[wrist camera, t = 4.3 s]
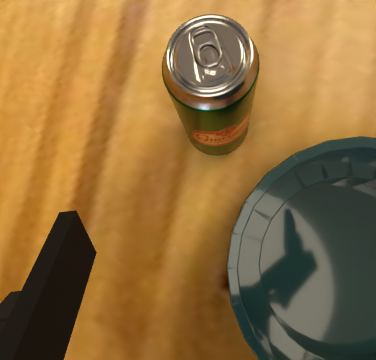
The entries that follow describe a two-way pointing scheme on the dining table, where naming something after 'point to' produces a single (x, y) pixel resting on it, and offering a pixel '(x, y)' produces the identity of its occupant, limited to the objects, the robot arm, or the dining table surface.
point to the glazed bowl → (309, 256)
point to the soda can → (212, 81)
